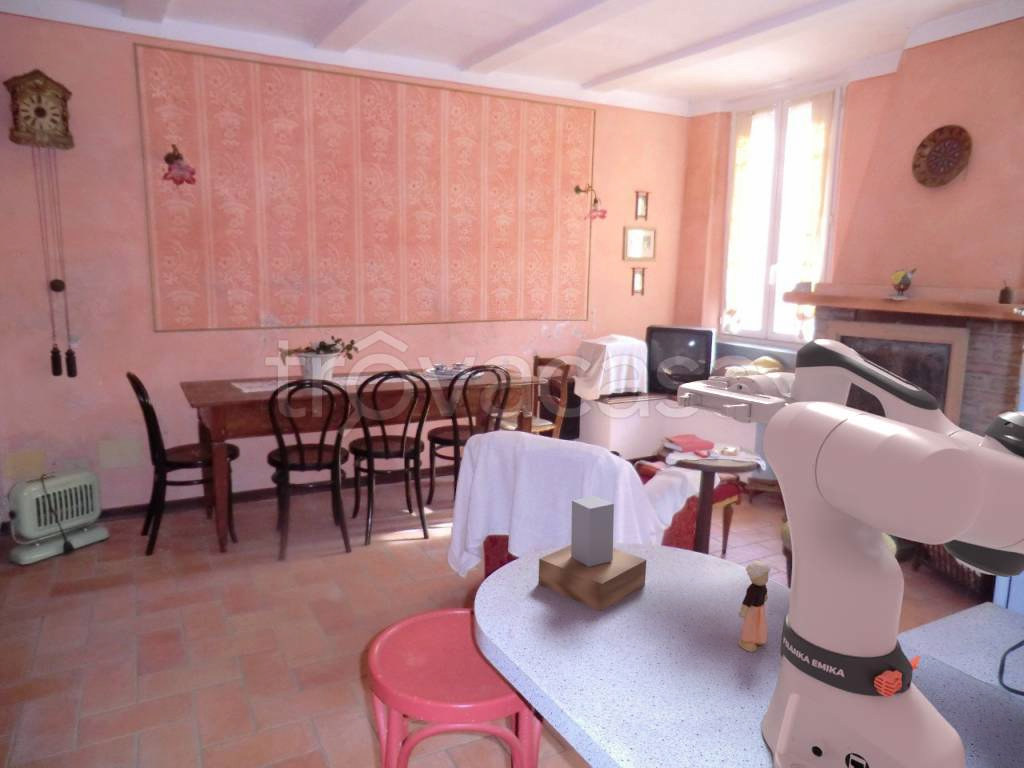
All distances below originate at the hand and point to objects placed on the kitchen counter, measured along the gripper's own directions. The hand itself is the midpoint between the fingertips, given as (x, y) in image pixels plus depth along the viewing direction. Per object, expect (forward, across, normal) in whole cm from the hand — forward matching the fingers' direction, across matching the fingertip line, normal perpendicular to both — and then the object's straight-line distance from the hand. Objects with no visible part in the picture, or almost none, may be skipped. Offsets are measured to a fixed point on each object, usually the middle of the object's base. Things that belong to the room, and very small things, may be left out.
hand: (702, 406), depth 121 cm
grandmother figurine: (+13, -22, -30) cm, 40 cm away
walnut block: (+20, +5, -30) cm, 37 cm away
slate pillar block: (+20, +5, -25) cm, 33 cm away
